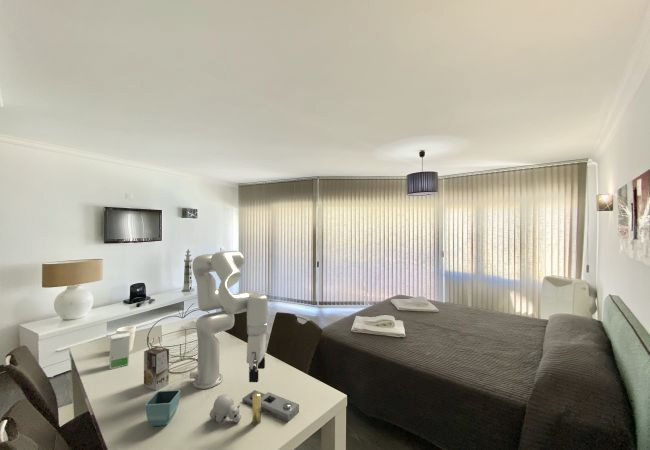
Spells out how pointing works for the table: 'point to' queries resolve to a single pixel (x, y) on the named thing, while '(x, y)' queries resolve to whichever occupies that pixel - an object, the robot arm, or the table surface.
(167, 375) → the coffee box
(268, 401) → the grey flat bar
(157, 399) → the flower pot
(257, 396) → the pin
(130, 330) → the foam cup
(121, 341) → the skincare box
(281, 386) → the table surface
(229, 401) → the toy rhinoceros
